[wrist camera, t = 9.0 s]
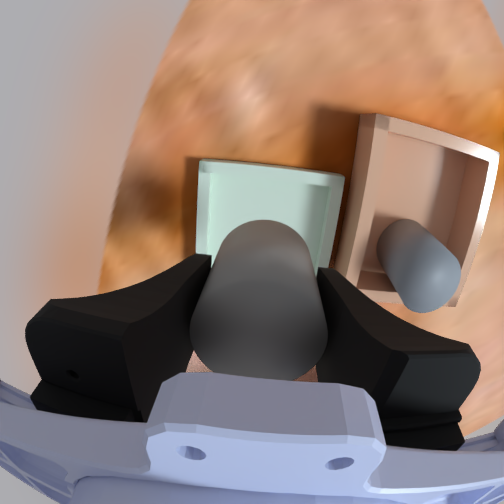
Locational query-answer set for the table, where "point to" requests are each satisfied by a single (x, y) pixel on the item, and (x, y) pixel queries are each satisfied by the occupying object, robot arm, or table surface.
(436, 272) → the pebble
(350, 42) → the table surface
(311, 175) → the parts tray
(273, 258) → the pebble
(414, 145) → the dish
